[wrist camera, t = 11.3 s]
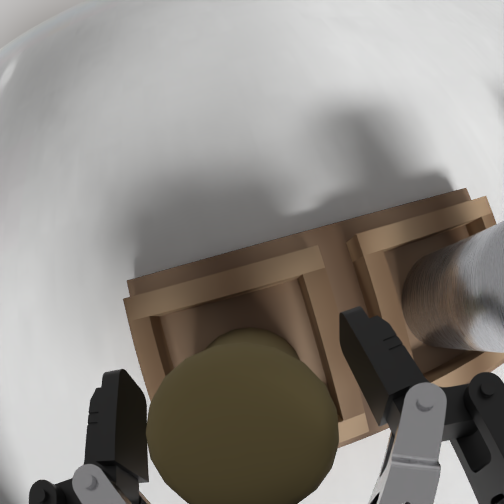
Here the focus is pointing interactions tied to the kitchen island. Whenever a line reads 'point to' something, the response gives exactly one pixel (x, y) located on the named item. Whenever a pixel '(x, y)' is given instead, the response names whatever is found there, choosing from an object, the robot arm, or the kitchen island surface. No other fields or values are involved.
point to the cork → (243, 423)
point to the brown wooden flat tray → (311, 298)
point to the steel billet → (459, 294)
